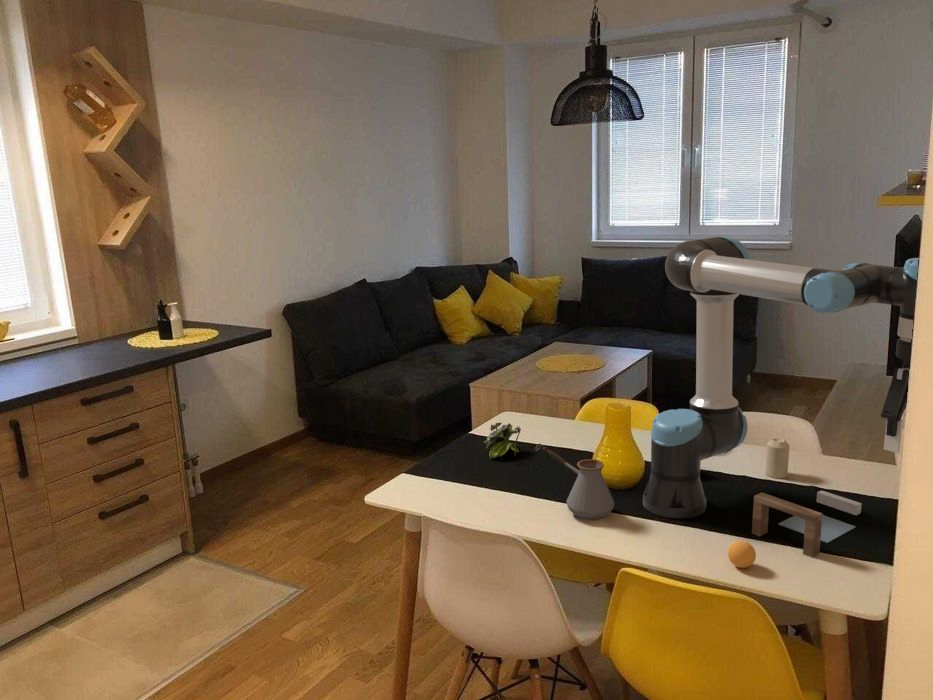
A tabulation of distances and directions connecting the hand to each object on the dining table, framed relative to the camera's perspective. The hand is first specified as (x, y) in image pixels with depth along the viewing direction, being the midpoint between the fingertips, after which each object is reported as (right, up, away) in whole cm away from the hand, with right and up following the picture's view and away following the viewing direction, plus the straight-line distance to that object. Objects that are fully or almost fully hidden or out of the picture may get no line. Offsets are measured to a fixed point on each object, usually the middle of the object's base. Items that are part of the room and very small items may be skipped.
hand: (907, 442), depth 157 cm
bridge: (-18, -24, +17) cm, 34 cm away
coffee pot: (-62, -21, +38) cm, 75 cm away
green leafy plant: (-77, -12, +75) cm, 108 cm away
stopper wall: (+2, -20, +34) cm, 39 cm away
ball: (-31, -24, +7) cm, 40 cm away
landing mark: (-7, -22, +25) cm, 34 cm away
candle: (-5, -15, +54) cm, 56 cm away
